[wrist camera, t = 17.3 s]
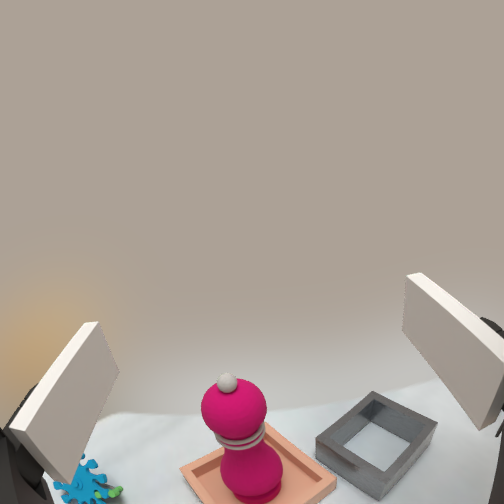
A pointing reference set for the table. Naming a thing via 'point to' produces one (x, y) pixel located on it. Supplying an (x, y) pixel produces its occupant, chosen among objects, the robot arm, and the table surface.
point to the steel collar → (387, 417)
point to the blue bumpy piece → (87, 485)
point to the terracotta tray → (292, 482)
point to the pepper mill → (242, 439)
